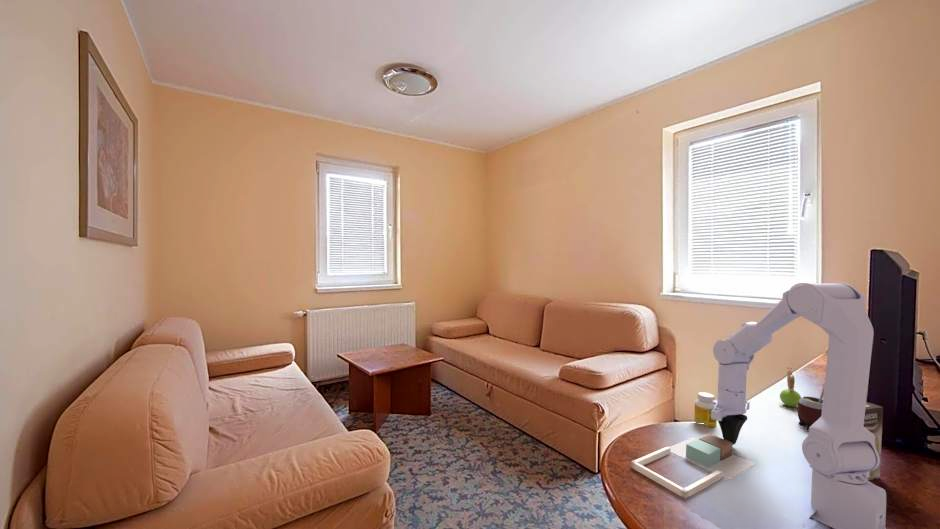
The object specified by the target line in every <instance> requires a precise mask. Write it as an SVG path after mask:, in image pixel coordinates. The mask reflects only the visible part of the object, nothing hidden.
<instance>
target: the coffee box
mask: <svg viewBox="0 0 940 529" xmlns="http://www.w3.org/2000/svg"><path fill="white" fill-rule="evenodd" d="M883 417H884V407H883V406H881V405H878V404H876V403H871V402H868V401H866V408H865V418H864V427H865V428H866V429H867V430H868V431H870V432H871V433H872V434H873V435H874V436H875V437H876V438H875V446H876V449H877V452H878V454H879V457H880V462H881V459H882V440H883V439H882V438H883V437H882V435H883V422H884V418H883ZM878 477H881V463H880V464H879V466H878V468H876V469H875V470H873V471H870V475H869V478H867V480H868V481H871V480H875V479H874V478H876V479H879V478H878Z"/></svg>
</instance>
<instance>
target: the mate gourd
mask: <svg viewBox="0 0 940 529" xmlns="http://www.w3.org/2000/svg"><path fill="white" fill-rule="evenodd" d="M824 384H825V382H824V383H823V385H822V390H821V393H820V397H819V398H818V397H815V396H801V399H800V400H799V402H798V406H797V416H798V420H799V421H798V425H800V426H805V427H808V428H810V426H811V425H812V424H814V423H815V422H816V421H817V420H818V419H819V418H820V417H821V414H822V404H823V394H824Z"/></svg>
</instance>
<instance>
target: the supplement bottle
mask: <svg viewBox="0 0 940 529" xmlns="http://www.w3.org/2000/svg"><path fill="white" fill-rule="evenodd" d="M714 400H716V398H715V395H714V394H712V393H710V392H705V391H702V392H701V391H700V392H698V393H697V399H695V401H694V416H693V417H694V422H695V423H696V424H697V423H704V424H698V425H699V426H701V427H702V426H703V427H707V428H716V427H717V422H718V420H715V419H712V418H711V410H713V409H714V407H715V405H714V404H712V401H714Z"/></svg>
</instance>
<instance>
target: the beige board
mask: <svg viewBox="0 0 940 529" xmlns="http://www.w3.org/2000/svg"><path fill="white" fill-rule="evenodd" d="M697 439H698V438H696V437H692V436H691V437H690V438H687V439H685V440H683V441H680V442H678V443H676V444H673V445H671V446H669V447H670V453H672V454H673V455H677V456H678V457H680V458H682V459H683V460H684V459H685V460H687V461H689V462H691V463H693V464H695V465H697V466H698V467H701V468H703V469H705V470H707V471H709V472H711V473H713V472H715V471H717V470H718V471H720V472H722V478H723V479H725V480H731V479H732V478H735V477H736V476H738V475H739V474H741V473H743V472H745V471H746V470H748V469H749V468H752V467H753V466H755V465H756V463H754V462H751V461H749V460H747V459H744V458H742V457H739V456H737V455H735V454H733V453H732V456H730V457H728V458H726V459H724V460H722V461H720V462H718V463H716V464H714V465H712V466H710V467H709V468H708V467H706V466H704V465H702V464H700V463H698V462H696V461H694V460H692V459H690V458H687V457H686V444H688V443H690V442H692V441H695V440H697Z"/></svg>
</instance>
